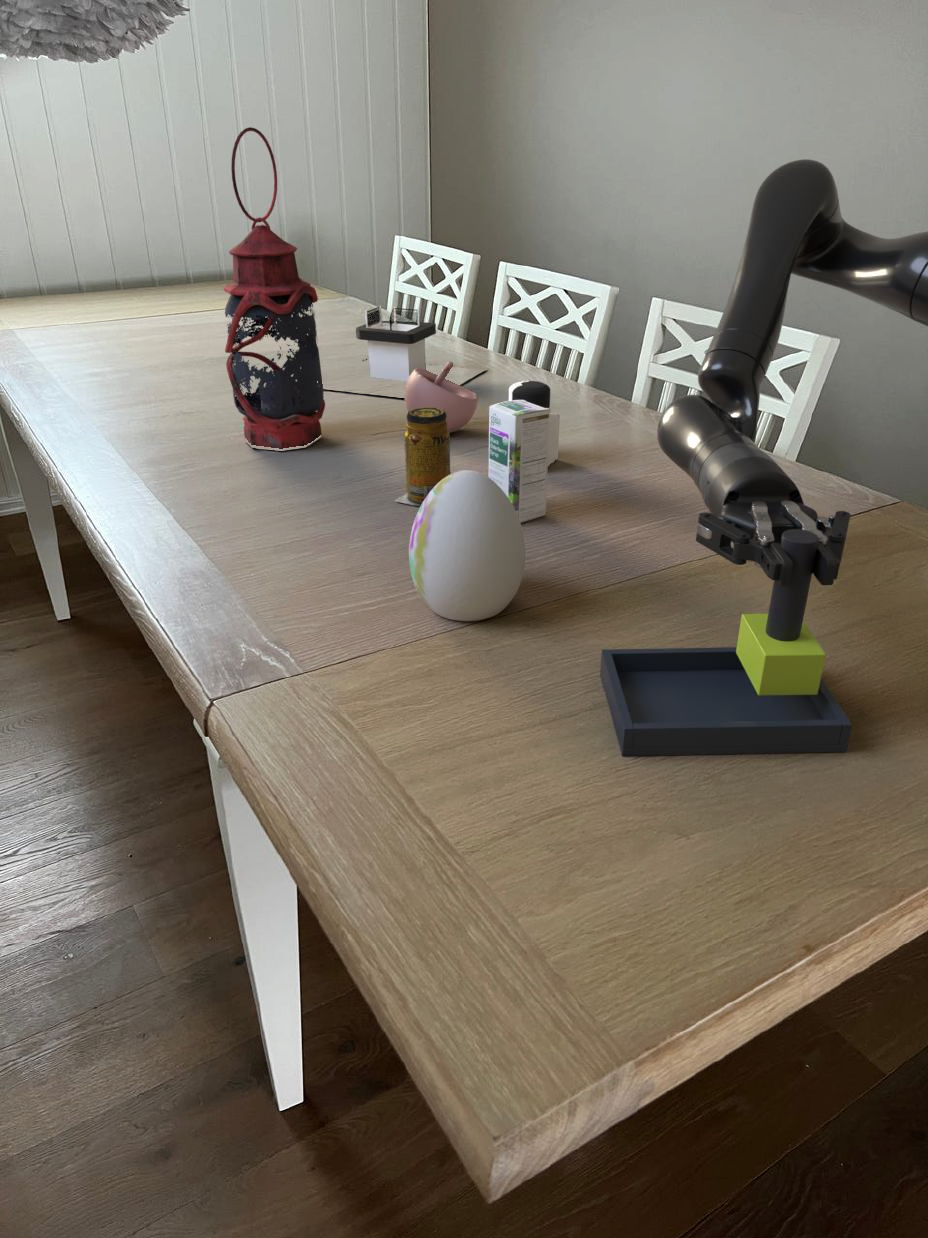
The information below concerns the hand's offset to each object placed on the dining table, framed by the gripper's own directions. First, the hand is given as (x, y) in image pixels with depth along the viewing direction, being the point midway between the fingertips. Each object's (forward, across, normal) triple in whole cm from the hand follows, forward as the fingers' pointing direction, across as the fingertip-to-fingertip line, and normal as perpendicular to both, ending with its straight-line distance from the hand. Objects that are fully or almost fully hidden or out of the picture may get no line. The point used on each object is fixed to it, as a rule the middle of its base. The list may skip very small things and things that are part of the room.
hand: (808, 574), depth 72 cm
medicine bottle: (-69, -16, +15) cm, 72 cm away
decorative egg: (-24, -26, +15) cm, 38 cm away
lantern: (-82, -56, +16) cm, 100 cm away
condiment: (-55, -30, +15) cm, 64 cm away
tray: (-3, -5, +15) cm, 16 cm away
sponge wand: (-3, 0, +11) cm, 11 cm away
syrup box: (-49, -19, +15) cm, 55 cm away
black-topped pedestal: (-120, -39, +16) cm, 127 cm away
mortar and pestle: (-85, -30, +16) cm, 91 cm away
